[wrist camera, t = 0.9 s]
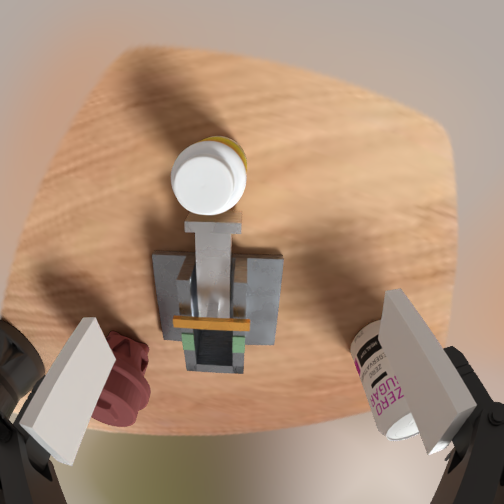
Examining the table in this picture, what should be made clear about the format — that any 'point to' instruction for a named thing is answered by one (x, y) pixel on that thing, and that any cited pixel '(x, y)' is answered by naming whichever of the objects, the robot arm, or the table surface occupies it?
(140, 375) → the mechanical component
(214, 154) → the supplement bottle
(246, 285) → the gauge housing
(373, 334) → the supplement can
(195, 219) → the plunger
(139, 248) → the table surface
